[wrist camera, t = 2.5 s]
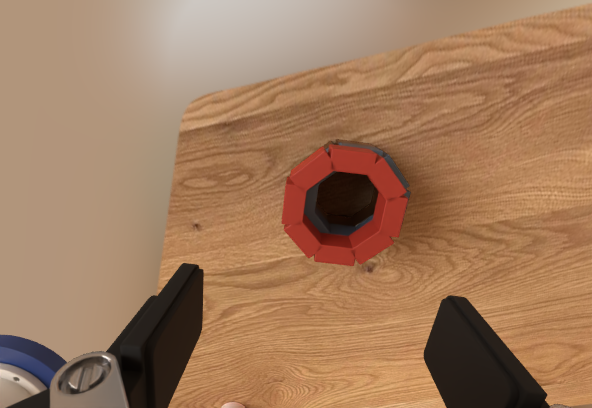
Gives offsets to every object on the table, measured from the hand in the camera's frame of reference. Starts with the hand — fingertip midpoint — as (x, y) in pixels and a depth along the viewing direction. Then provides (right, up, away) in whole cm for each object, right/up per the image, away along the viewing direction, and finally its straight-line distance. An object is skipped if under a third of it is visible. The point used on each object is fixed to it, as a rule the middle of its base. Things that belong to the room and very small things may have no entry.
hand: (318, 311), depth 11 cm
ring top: (+3, +4, +13) cm, 14 cm away
